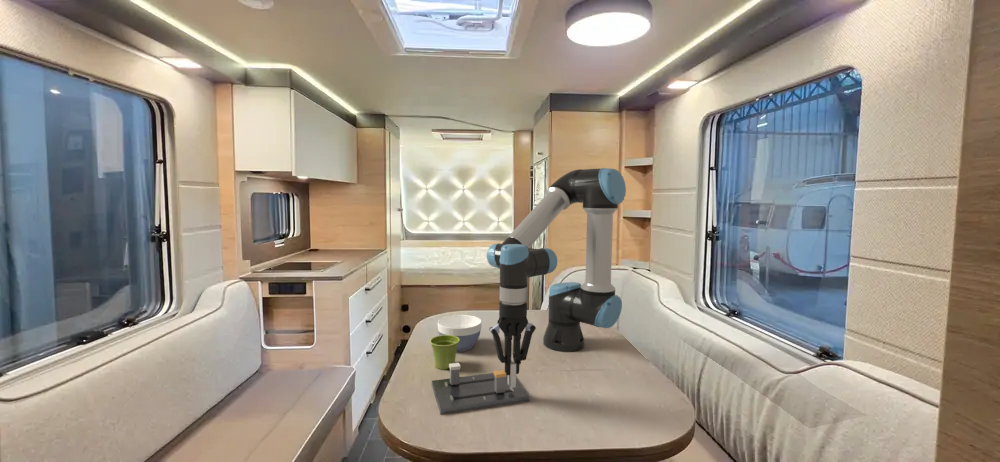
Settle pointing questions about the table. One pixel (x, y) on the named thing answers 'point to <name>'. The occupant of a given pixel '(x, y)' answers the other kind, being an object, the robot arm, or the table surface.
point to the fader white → (454, 373)
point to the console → (475, 393)
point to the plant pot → (444, 350)
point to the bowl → (461, 329)
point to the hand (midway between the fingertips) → (511, 385)
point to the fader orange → (499, 381)
